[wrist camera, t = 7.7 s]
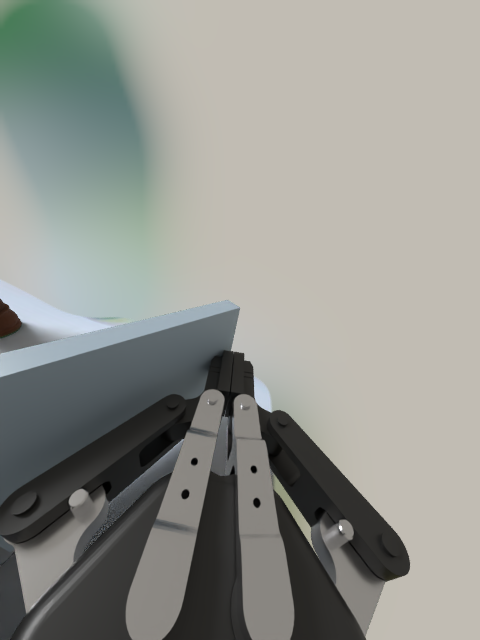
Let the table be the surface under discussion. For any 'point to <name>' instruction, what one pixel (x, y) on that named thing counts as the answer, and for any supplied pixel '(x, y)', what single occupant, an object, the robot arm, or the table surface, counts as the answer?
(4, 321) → the chess piece
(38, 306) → the table surface
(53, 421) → the side door
